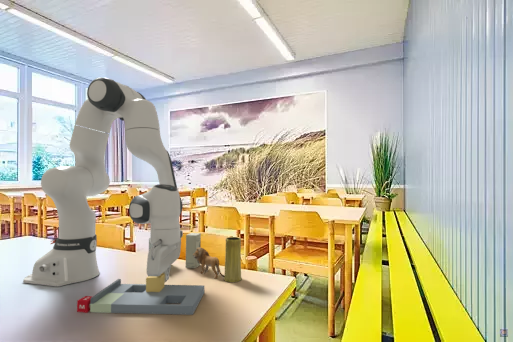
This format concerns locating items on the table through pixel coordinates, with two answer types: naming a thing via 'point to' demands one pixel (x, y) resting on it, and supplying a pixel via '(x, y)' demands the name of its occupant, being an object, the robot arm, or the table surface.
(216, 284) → the table surface
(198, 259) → the lion figurine
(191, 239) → the box
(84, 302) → the red letter cube
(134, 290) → the board
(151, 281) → the block
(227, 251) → the vase
